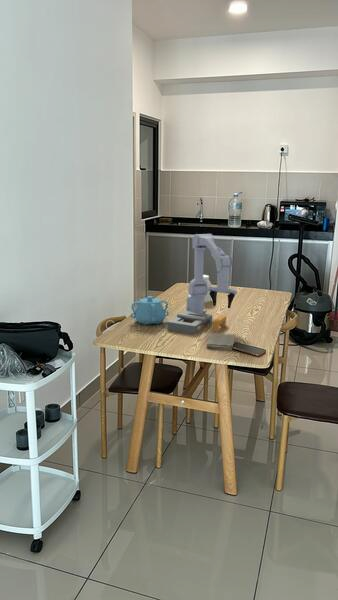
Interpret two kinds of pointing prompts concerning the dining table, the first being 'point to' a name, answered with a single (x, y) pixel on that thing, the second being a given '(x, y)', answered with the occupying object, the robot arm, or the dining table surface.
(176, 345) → the dining table surface
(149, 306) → the decorative pot
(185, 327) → the grey frame
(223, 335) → the washcloth
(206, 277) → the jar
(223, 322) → the notched orange plank
